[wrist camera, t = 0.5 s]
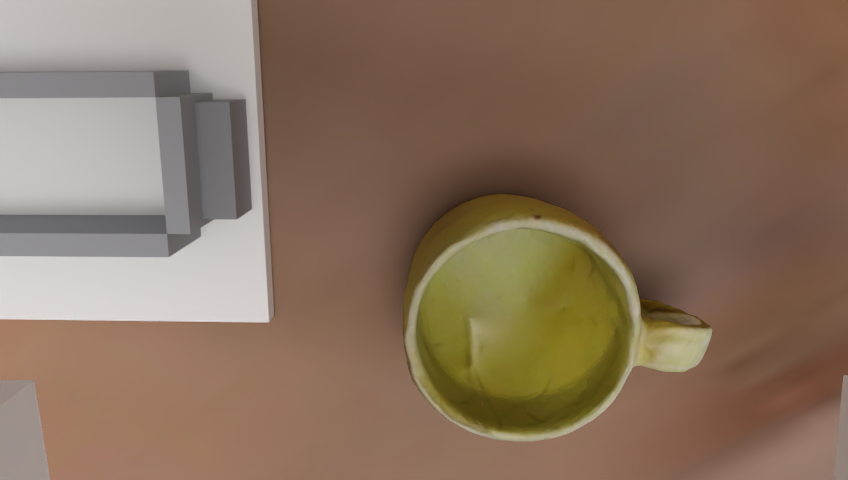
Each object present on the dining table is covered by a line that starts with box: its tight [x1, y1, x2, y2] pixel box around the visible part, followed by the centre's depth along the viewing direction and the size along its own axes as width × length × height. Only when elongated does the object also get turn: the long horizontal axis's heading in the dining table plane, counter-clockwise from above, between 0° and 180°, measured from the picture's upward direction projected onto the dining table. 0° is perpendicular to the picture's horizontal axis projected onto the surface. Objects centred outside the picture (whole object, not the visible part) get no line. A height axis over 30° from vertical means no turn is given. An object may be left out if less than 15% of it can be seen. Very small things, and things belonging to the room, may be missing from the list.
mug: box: [403, 194, 712, 441], centre depth 34 cm, size 12×10×10 cm
